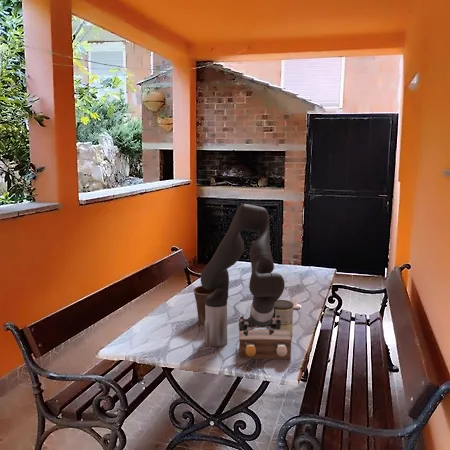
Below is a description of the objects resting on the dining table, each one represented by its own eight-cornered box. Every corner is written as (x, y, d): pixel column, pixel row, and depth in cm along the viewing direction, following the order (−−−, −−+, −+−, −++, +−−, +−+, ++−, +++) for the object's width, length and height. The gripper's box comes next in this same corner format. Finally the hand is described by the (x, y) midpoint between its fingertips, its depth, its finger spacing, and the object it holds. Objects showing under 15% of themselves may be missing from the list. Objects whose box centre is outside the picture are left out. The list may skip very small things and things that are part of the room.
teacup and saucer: (301, 310, 247) (301, 302, 247) (285, 309, 249) (285, 301, 248) (301, 304, 256) (302, 297, 255) (286, 304, 257) (286, 296, 257)
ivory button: (287, 356, 185) (287, 346, 184) (276, 356, 185) (276, 346, 184) (285, 349, 191) (285, 339, 191) (275, 349, 191) (275, 339, 191)
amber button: (255, 356, 185) (256, 346, 184) (245, 356, 185) (245, 346, 184) (255, 349, 191) (255, 339, 191) (244, 349, 192) (244, 339, 191)
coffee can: (265, 334, 215) (265, 303, 213) (277, 327, 223) (278, 298, 220) (284, 340, 208) (285, 308, 206) (297, 333, 216) (297, 302, 214)
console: (290, 358, 190) (291, 339, 189) (240, 358, 190) (240, 339, 189) (287, 348, 200) (288, 329, 198) (239, 348, 200) (239, 329, 199)
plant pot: (197, 329, 220) (197, 295, 218) (190, 317, 236) (190, 286, 233) (231, 326, 225) (231, 292, 222) (222, 314, 240) (222, 283, 237)
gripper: (282, 300, 161) (276, 322, 174) (239, 301, 160) (237, 324, 173) (285, 320, 157) (279, 342, 169) (241, 322, 156) (238, 343, 168)
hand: (258, 333), depth 171 cm, fingers open, 8 cm apart
